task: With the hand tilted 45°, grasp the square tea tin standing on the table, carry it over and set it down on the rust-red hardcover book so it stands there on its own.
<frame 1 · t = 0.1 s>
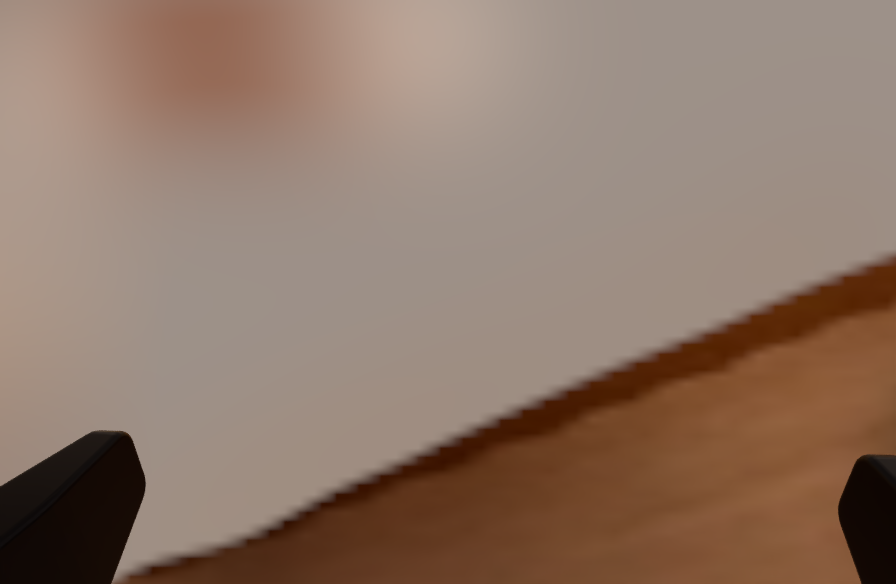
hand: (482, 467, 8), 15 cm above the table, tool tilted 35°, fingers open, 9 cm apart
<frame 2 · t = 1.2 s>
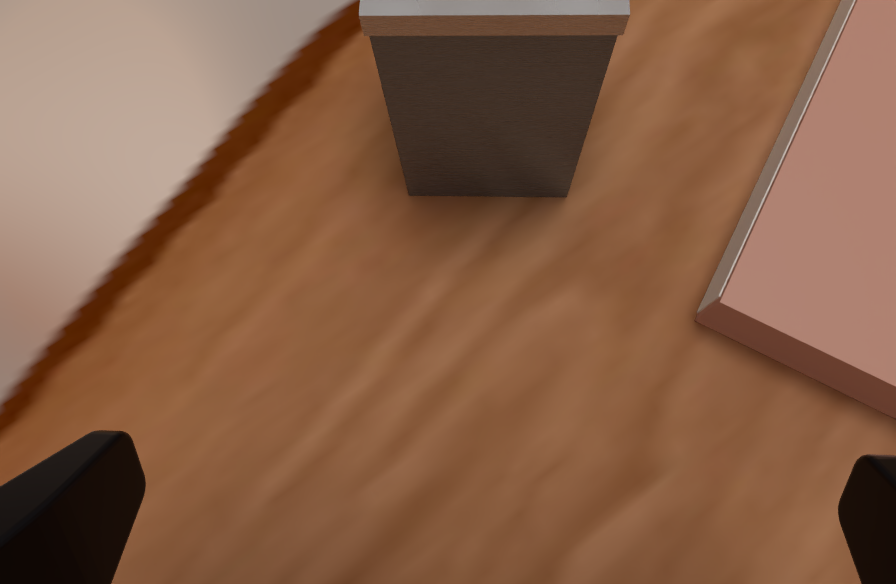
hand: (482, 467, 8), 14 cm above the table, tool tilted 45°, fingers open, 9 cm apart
tin: (488, 126, 25), on the table
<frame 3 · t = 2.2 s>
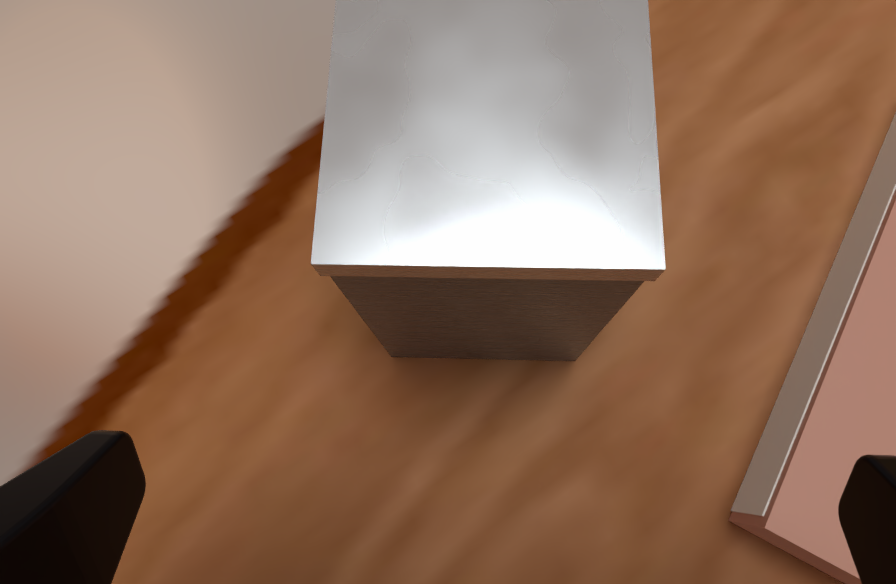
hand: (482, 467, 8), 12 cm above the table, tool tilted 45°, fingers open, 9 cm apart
tin: (484, 271, 22), on the table
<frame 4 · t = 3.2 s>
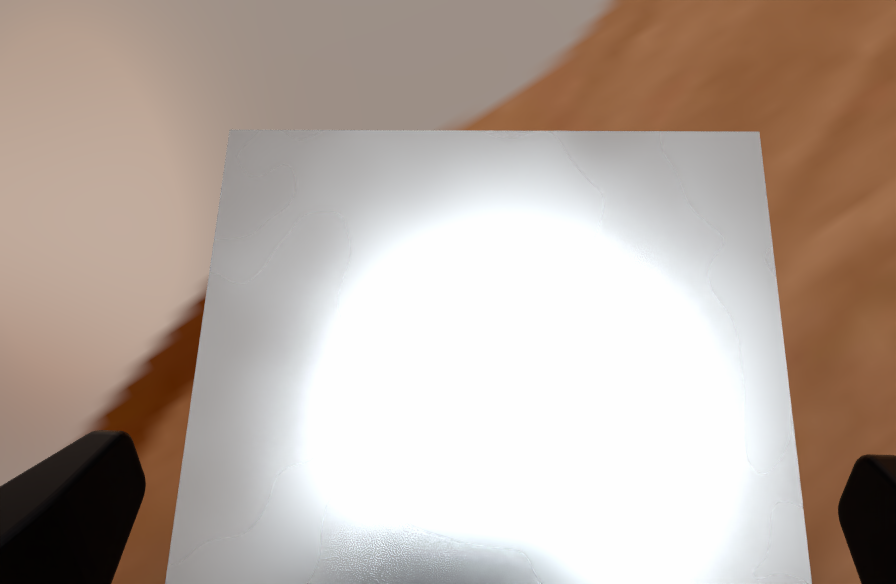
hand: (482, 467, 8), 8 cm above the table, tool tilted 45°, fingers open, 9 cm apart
tin: (480, 442, 16), on the table
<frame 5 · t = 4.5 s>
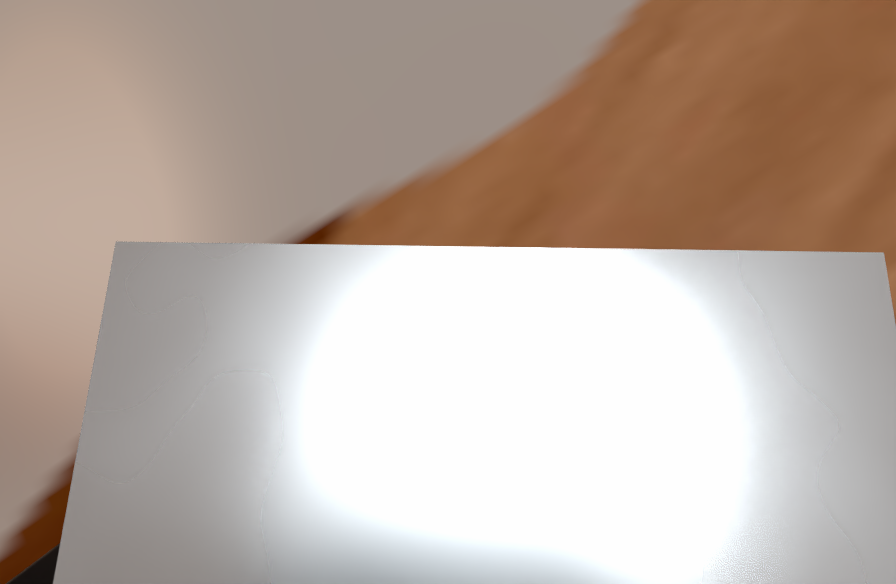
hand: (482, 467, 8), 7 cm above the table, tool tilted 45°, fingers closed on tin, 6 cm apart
tin: (479, 533, 14), on the table, touching gripper
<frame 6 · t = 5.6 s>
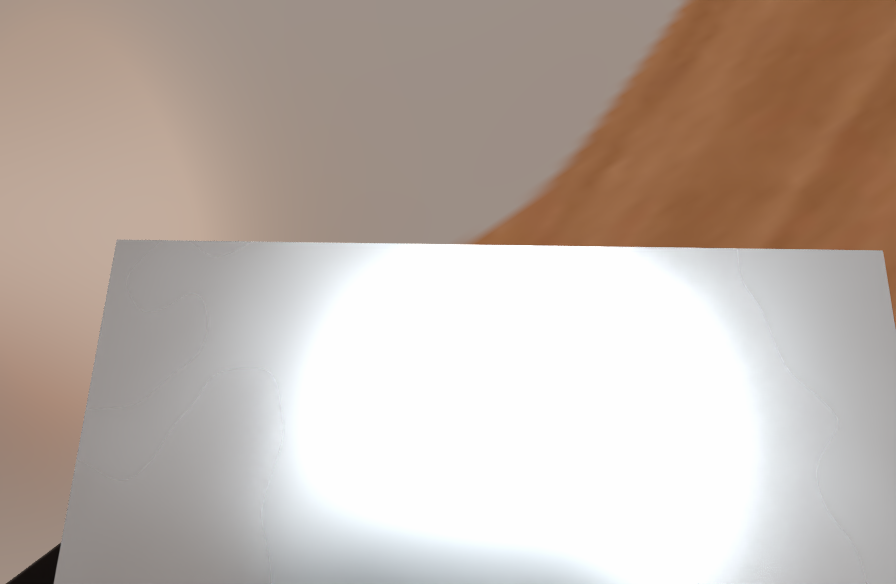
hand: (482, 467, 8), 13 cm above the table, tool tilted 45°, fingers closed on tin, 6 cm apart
tin: (479, 532, 14), point 7 cm above the table, touching gripper
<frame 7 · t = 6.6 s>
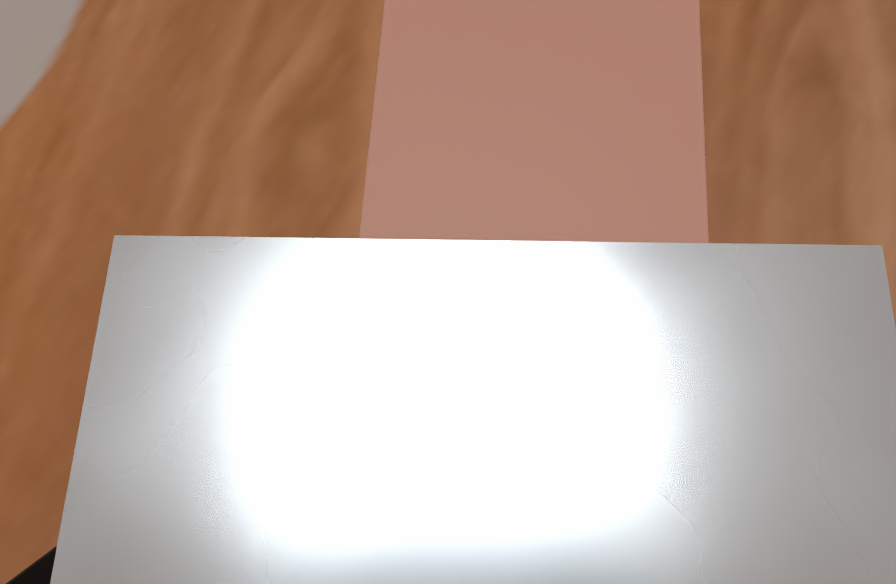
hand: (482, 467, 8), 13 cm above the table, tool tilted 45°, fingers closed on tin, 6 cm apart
tin: (478, 531, 14), point 7 cm above the table, touching gripper
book: (526, 232, 23), on the table
when the fingers open (10 cm above the table, at t = 9.2 s): tin drops 2 cm, resting on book.
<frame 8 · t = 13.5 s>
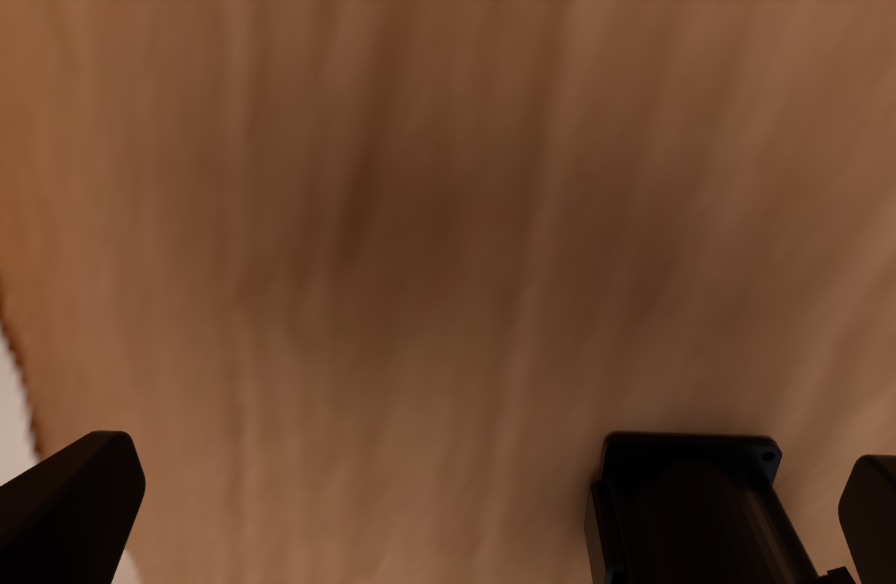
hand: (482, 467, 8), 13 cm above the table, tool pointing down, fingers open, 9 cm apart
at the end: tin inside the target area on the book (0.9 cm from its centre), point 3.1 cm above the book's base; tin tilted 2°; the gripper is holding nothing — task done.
